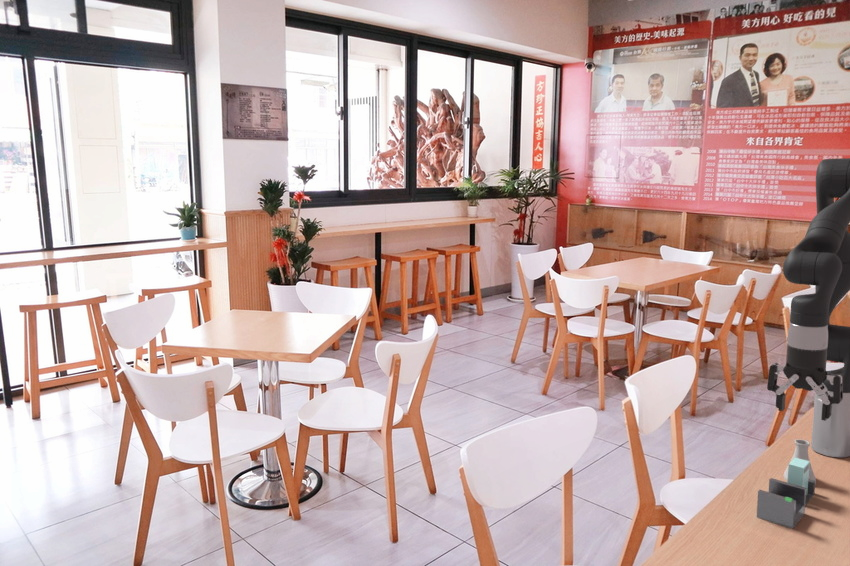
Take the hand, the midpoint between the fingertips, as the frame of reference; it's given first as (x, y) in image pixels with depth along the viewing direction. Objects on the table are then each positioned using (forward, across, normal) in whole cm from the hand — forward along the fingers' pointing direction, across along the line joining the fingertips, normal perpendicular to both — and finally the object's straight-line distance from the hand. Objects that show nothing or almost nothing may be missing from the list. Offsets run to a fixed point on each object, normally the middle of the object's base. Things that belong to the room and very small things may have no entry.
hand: (802, 414), depth 144 cm
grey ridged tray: (+20, 0, 0) cm, 20 cm away
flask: (+20, +2, -9) cm, 22 cm away
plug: (+19, 0, 0) cm, 19 cm away
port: (+20, 0, +11) cm, 23 cm away
